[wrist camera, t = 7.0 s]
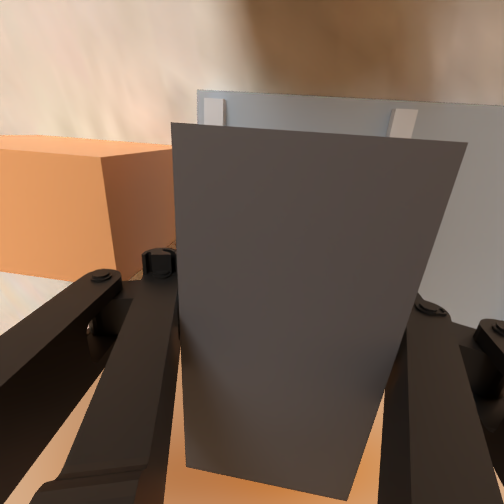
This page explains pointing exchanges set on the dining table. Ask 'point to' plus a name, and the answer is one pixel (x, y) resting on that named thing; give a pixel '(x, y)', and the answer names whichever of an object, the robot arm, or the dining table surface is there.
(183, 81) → the dining table surface
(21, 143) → the terracotta block
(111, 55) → the dining table surface
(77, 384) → the robot arm
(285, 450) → the grey rectangular block
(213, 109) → the grey flat panel
